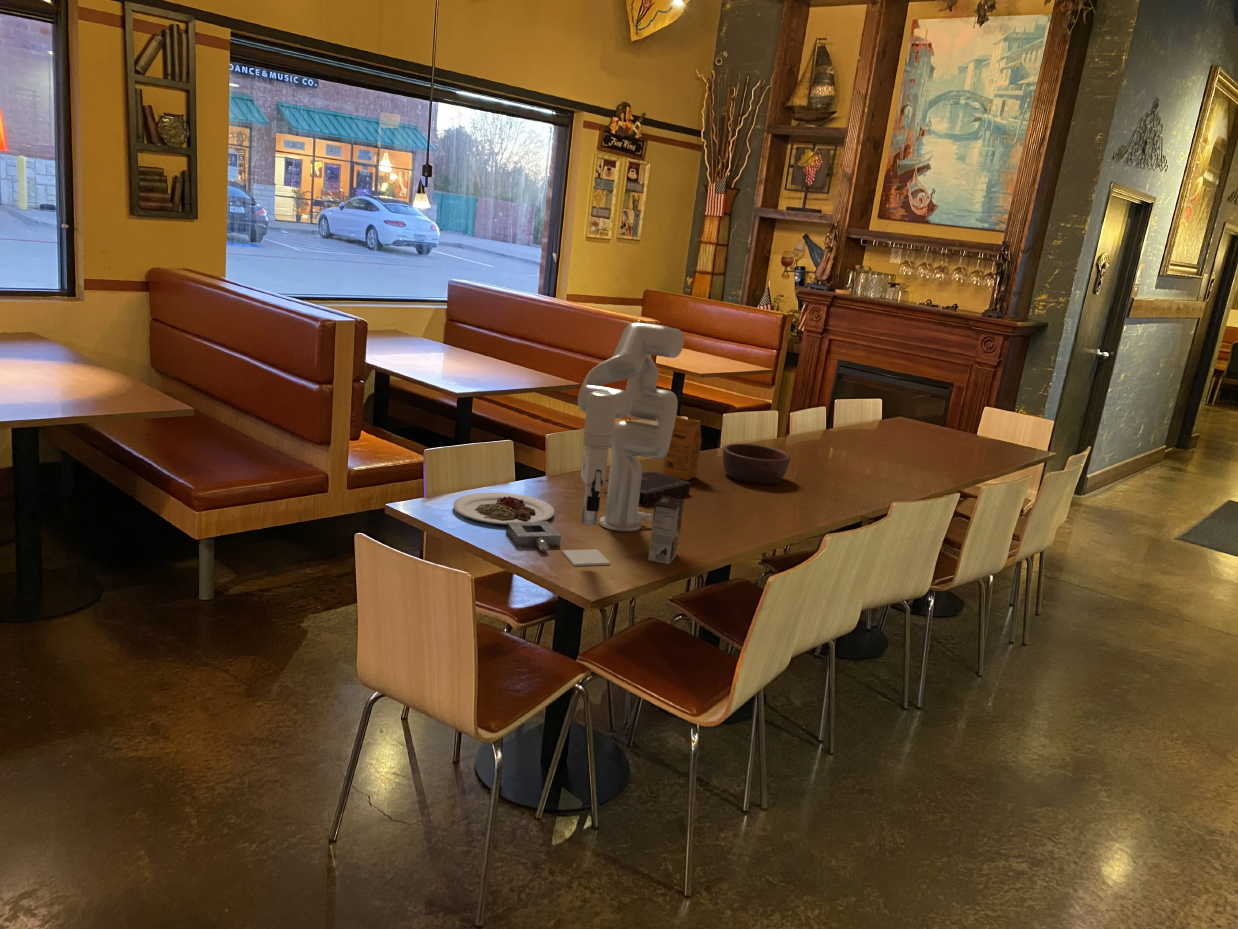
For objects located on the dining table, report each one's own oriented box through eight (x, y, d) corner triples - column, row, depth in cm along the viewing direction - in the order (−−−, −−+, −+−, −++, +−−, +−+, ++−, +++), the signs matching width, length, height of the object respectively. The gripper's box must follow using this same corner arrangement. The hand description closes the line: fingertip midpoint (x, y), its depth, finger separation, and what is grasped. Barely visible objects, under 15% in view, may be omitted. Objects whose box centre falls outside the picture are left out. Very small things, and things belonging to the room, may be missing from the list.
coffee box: (655, 550, 262) (662, 494, 258) (677, 554, 260) (685, 499, 256) (647, 560, 253) (653, 503, 249) (670, 564, 252) (677, 507, 248)
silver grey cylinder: (579, 520, 248) (585, 476, 245) (594, 521, 249) (600, 477, 246) (582, 525, 244) (587, 480, 242) (597, 525, 245) (603, 481, 243)
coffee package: (671, 470, 352) (678, 412, 346) (700, 478, 345) (708, 419, 340) (657, 474, 343) (664, 415, 338) (686, 482, 337) (694, 422, 331)
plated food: (458, 528, 262) (459, 517, 262) (448, 497, 290) (448, 486, 289) (563, 530, 271) (564, 519, 270) (543, 499, 299) (544, 489, 298)
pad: (596, 551, 256) (597, 549, 256) (609, 564, 247) (610, 562, 247) (562, 552, 252) (562, 550, 252) (573, 566, 243) (574, 563, 243)
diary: (689, 496, 321) (691, 482, 320) (646, 508, 302) (648, 493, 301) (646, 482, 332) (648, 469, 331) (601, 493, 313) (603, 479, 312)
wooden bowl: (707, 475, 350) (711, 448, 348) (739, 465, 370) (742, 440, 368) (768, 491, 337) (772, 463, 334) (797, 480, 357) (801, 454, 355)
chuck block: (546, 531, 268) (547, 521, 267) (565, 552, 252) (566, 541, 252) (505, 532, 263) (506, 522, 262) (522, 553, 248) (523, 542, 247)
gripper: (578, 431, 249) (571, 498, 253) (589, 446, 233) (581, 517, 237) (606, 433, 250) (599, 499, 255) (618, 448, 234) (610, 518, 239)
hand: (590, 507), depth 246 cm, fingers closed on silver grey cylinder, 4 cm apart
